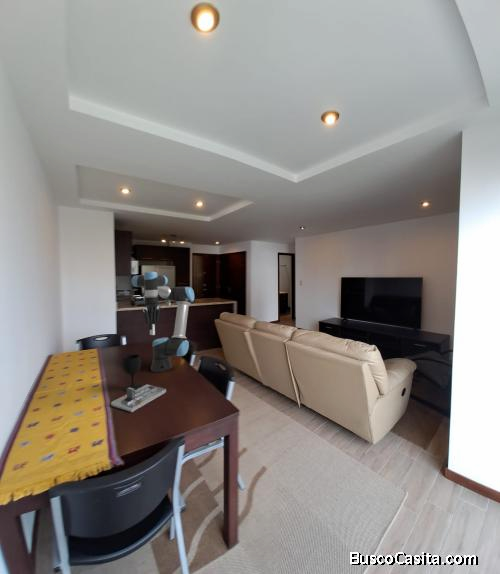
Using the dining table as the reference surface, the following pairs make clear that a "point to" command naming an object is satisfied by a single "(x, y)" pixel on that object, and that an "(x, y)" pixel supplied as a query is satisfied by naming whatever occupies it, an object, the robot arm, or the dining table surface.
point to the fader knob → (130, 393)
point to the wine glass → (132, 369)
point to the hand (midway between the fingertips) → (152, 334)
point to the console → (139, 398)
